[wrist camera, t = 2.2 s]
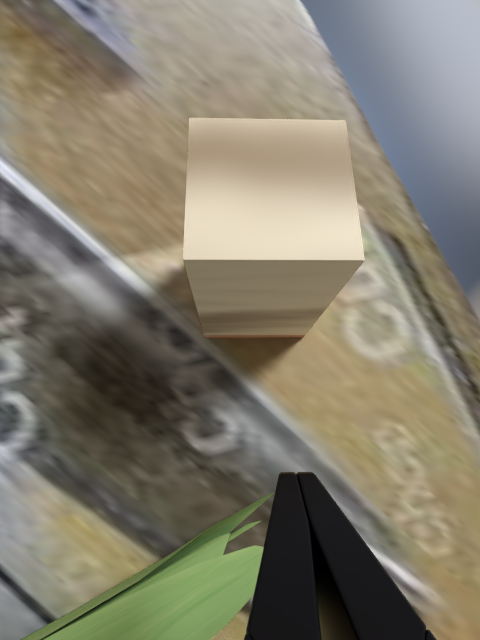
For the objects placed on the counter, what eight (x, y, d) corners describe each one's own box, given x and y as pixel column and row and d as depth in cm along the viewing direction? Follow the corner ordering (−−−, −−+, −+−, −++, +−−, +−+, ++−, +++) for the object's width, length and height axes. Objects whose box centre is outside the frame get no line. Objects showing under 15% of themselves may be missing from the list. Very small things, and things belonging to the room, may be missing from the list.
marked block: (303, 337, 21) (364, 260, 11) (204, 337, 21) (183, 259, 11) (297, 250, 23) (345, 120, 13) (206, 249, 22) (189, 117, 13)
